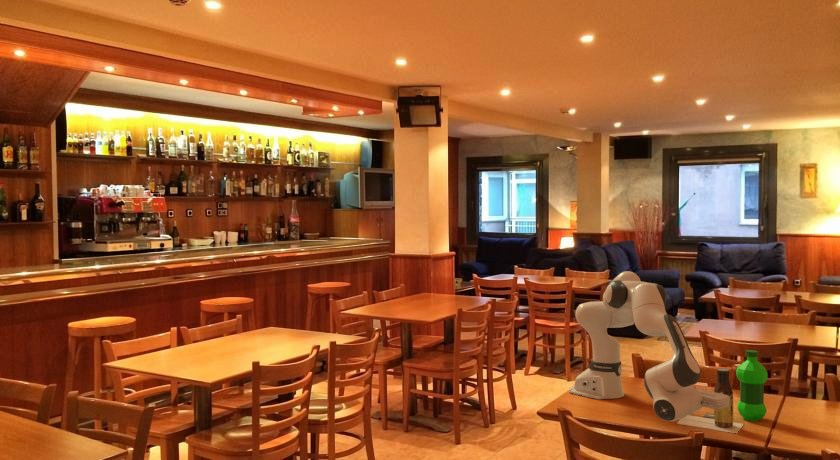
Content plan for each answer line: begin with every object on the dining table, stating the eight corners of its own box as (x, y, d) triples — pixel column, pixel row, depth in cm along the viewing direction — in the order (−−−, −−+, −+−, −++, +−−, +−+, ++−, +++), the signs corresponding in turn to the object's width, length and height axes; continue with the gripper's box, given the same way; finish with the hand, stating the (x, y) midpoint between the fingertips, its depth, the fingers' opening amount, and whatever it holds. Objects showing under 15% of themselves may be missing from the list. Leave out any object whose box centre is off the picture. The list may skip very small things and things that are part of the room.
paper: (676, 423, 249) (676, 422, 249) (685, 415, 258) (685, 414, 258) (736, 433, 237) (736, 432, 237) (743, 424, 247) (743, 423, 247)
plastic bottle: (772, 423, 248) (773, 353, 248) (743, 423, 249) (743, 354, 248) (759, 414, 258) (759, 348, 258) (731, 414, 259) (731, 348, 258)
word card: (703, 417, 256) (703, 416, 256) (706, 413, 260) (706, 412, 260) (726, 420, 251) (726, 419, 251) (729, 417, 256) (729, 416, 255)
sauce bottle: (735, 428, 241) (735, 372, 241) (716, 427, 242) (716, 371, 242) (730, 423, 248) (730, 368, 247) (712, 422, 249) (712, 367, 248)
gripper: (719, 397, 220) (738, 388, 230) (659, 384, 235) (679, 376, 245) (719, 416, 221) (737, 407, 230) (659, 402, 236) (679, 394, 245)
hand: (707, 391), depth 238 cm, fingers open, 8 cm apart
